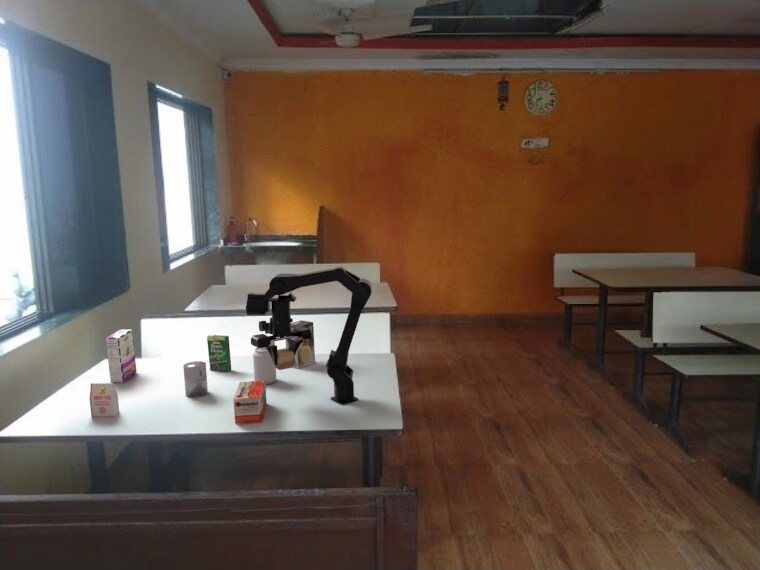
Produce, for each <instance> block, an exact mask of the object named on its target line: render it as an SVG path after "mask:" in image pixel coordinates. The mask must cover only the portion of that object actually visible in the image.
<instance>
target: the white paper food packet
mask: <svg viewBox="0 0 760 570" xmlns="http://www.w3.org/2000/svg"><path fill="white" fill-rule="evenodd" d="M89 391H90V392H89V406H90V415H91V418H114V417H116V416H117V415H119V413H120V405H119V396H118V395H119V394H118V391H117V389H116V386H115V383H111V382H96V383H94V382H93V383H92V382H91V383H90V390H89Z"/></svg>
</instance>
